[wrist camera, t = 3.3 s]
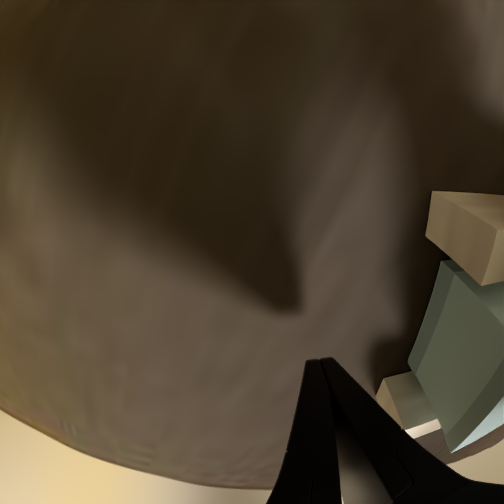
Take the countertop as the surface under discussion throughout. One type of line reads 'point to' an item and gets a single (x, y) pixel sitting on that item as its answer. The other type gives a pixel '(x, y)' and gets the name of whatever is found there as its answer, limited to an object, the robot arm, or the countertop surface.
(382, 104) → the countertop surface
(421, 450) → the robot arm
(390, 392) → the lane
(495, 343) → the pale teal block
